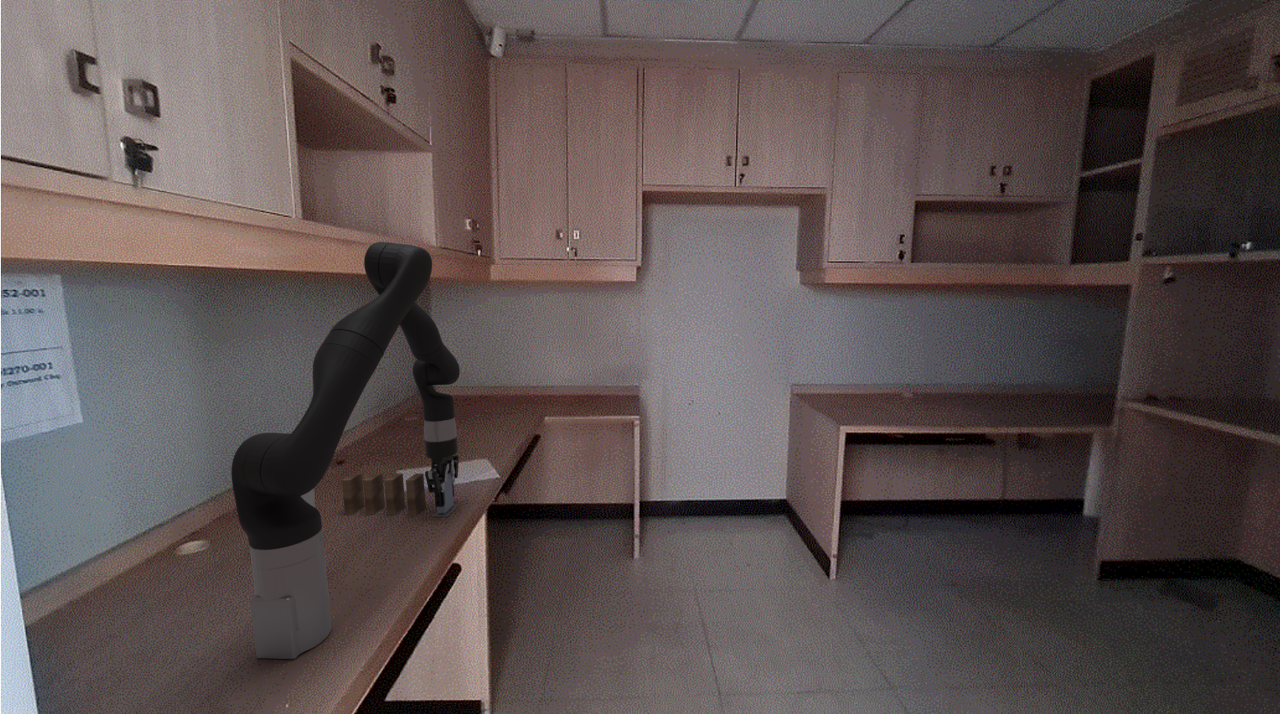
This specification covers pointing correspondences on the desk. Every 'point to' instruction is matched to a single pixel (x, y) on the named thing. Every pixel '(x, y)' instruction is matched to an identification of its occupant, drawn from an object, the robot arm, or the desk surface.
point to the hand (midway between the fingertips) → (445, 501)
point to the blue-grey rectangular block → (447, 495)
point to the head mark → (446, 512)
